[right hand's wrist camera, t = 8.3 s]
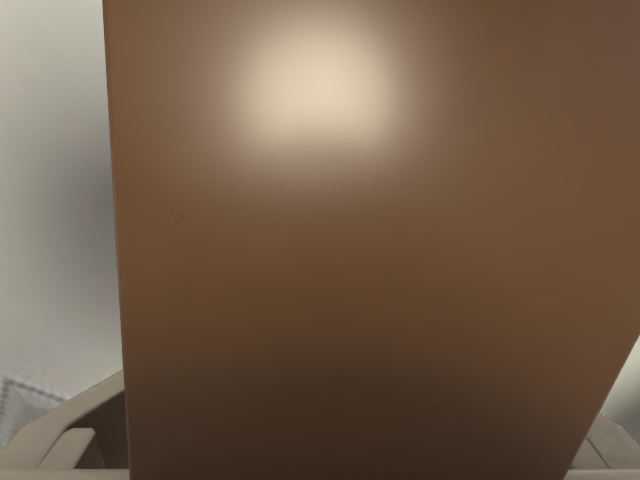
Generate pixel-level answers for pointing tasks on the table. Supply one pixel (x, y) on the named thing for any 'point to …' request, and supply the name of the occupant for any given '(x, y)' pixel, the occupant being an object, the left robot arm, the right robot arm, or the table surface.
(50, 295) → the table surface
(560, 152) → the bar
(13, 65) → the table surface
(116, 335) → the table surface
